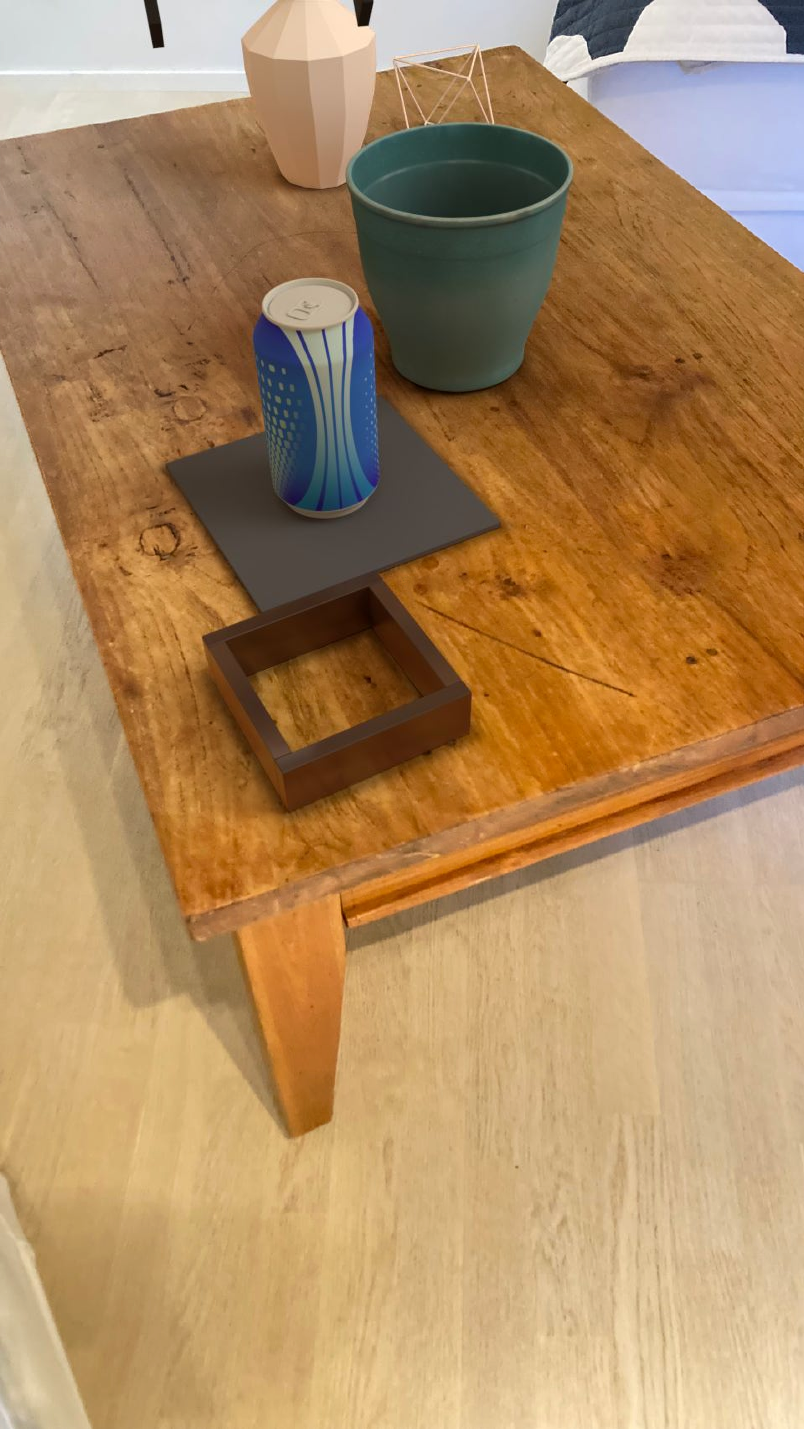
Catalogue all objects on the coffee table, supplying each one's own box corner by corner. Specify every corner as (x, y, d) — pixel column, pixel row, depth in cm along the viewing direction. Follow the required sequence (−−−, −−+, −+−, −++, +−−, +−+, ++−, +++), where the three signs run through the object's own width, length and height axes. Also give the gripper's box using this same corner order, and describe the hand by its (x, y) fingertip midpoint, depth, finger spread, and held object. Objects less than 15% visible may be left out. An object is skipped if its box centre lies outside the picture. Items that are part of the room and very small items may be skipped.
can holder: (210, 676, 72) (200, 635, 69) (378, 611, 76) (376, 569, 73) (289, 813, 65) (282, 774, 62) (470, 733, 68) (472, 692, 65)
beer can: (262, 472, 86) (234, 284, 73) (360, 449, 87) (349, 262, 75) (290, 536, 80) (266, 345, 68) (394, 510, 82) (389, 319, 70)
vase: (235, 167, 124) (201, -94, 105) (340, 138, 129) (325, -117, 110) (294, 213, 116) (269, -61, 97) (403, 180, 121) (399, -87, 102)
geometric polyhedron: (501, 126, 130) (505, 43, 123) (493, 163, 123) (496, 77, 116) (401, 123, 132) (399, 40, 125) (388, 159, 125) (385, 74, 118)
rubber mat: (165, 468, 87) (164, 463, 87) (380, 398, 93) (380, 393, 93) (263, 617, 76) (262, 612, 75) (500, 527, 81) (501, 522, 81)
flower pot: (345, 413, 92) (331, 216, 79) (366, 306, 103) (357, 119, 90) (555, 419, 90) (576, 221, 77) (552, 310, 102) (571, 122, 89)
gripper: (383, -288, 72) (438, 38, 74) (7, -264, 68) (75, 77, 70) (400, -395, 64) (460, -30, 66) (-21, -374, 61) (56, 10, 63)
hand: (262, 26), depth 68 cm, fingers open, 13 cm apart
